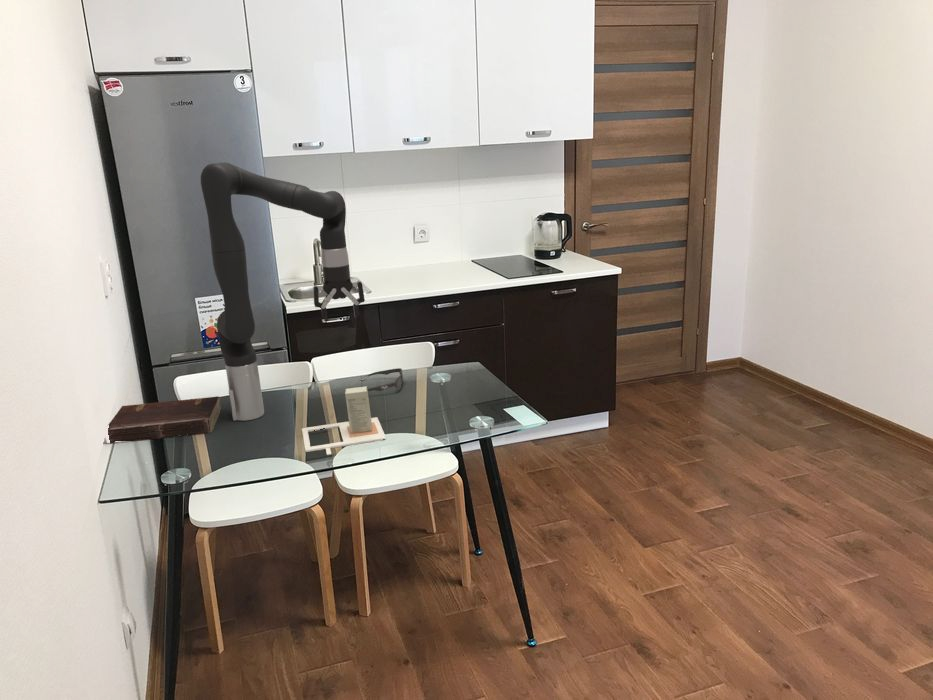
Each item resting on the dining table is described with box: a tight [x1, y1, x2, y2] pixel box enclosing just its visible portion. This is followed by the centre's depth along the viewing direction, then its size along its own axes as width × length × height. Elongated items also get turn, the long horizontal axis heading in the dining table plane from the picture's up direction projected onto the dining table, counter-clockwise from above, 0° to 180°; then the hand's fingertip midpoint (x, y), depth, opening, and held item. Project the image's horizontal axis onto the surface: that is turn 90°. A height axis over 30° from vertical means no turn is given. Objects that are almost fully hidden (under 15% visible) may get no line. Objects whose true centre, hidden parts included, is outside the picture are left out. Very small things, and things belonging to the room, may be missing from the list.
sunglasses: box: [359, 367, 404, 393], centre depth 246 cm, size 16×17×5 cm
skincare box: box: [344, 386, 372, 433], centre depth 210 cm, size 6×4×12 cm
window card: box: [301, 416, 386, 456], centre depth 209 cm, size 22×20×1 cm
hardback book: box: [108, 395, 222, 445], centre depth 223 cm, size 29×19×5 cm, turn 99°
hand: (341, 318), depth 215 cm, fingers open, 8 cm apart
